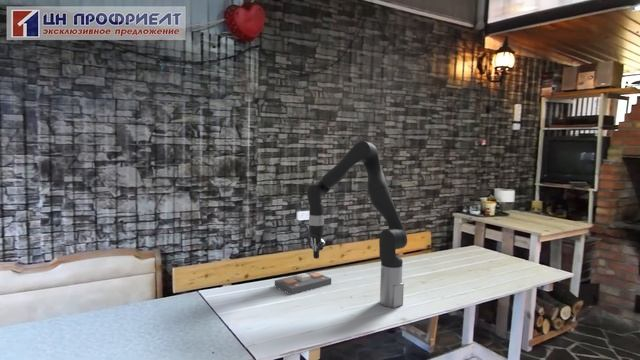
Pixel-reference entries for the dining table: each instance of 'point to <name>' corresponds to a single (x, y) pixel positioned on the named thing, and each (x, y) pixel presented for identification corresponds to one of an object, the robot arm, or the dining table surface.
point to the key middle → (303, 277)
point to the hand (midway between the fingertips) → (316, 258)
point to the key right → (316, 275)
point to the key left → (289, 281)
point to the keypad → (303, 284)
